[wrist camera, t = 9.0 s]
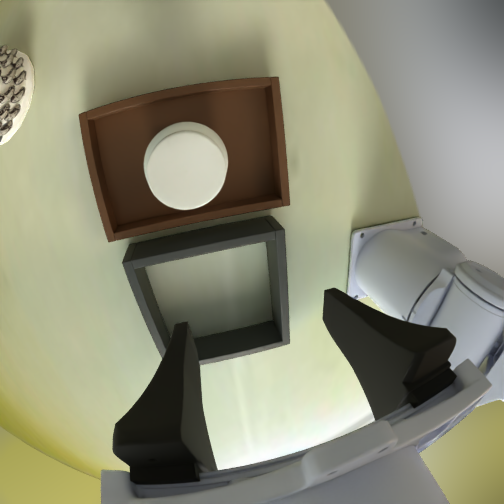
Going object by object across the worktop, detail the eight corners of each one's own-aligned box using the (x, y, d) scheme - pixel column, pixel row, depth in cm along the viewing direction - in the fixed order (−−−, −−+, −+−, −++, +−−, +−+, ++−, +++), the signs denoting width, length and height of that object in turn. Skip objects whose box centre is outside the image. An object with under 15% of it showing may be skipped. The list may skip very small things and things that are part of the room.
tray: (270, 80, 17) (278, 76, 15) (281, 198, 21) (290, 205, 20) (87, 114, 15) (78, 114, 13) (113, 232, 19) (108, 242, 17)
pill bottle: (142, 142, 17) (116, 153, 10) (200, 112, 17) (211, 102, 10) (172, 196, 19) (166, 238, 12) (227, 167, 19) (254, 192, 12)
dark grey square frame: (271, 215, 22) (284, 228, 19) (280, 323, 27) (290, 344, 24) (128, 244, 20) (121, 262, 17) (167, 348, 25) (168, 371, 22)
